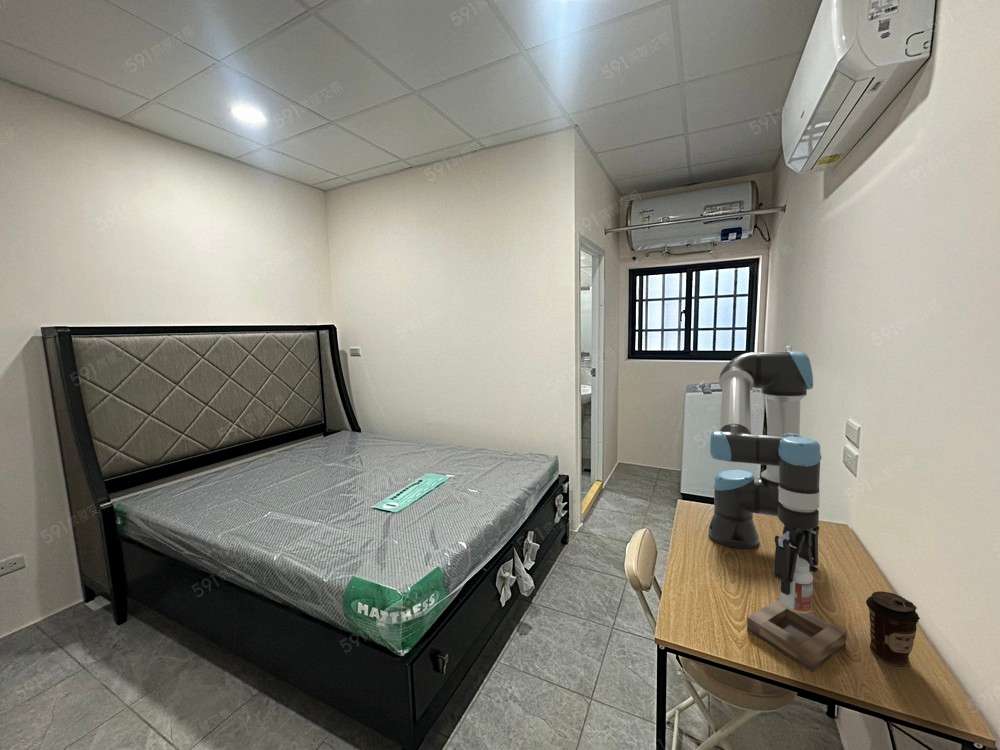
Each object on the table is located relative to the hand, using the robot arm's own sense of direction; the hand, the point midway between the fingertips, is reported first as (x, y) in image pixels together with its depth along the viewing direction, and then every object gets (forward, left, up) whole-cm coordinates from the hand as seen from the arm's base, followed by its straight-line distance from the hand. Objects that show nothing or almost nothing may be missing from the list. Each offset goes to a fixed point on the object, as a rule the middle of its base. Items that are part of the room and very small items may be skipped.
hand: (795, 600), depth 95 cm
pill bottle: (0, 0, -2) cm, 2 cm away
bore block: (0, 0, -10) cm, 10 cm away
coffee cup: (-12, +13, -10) cm, 20 cm away
